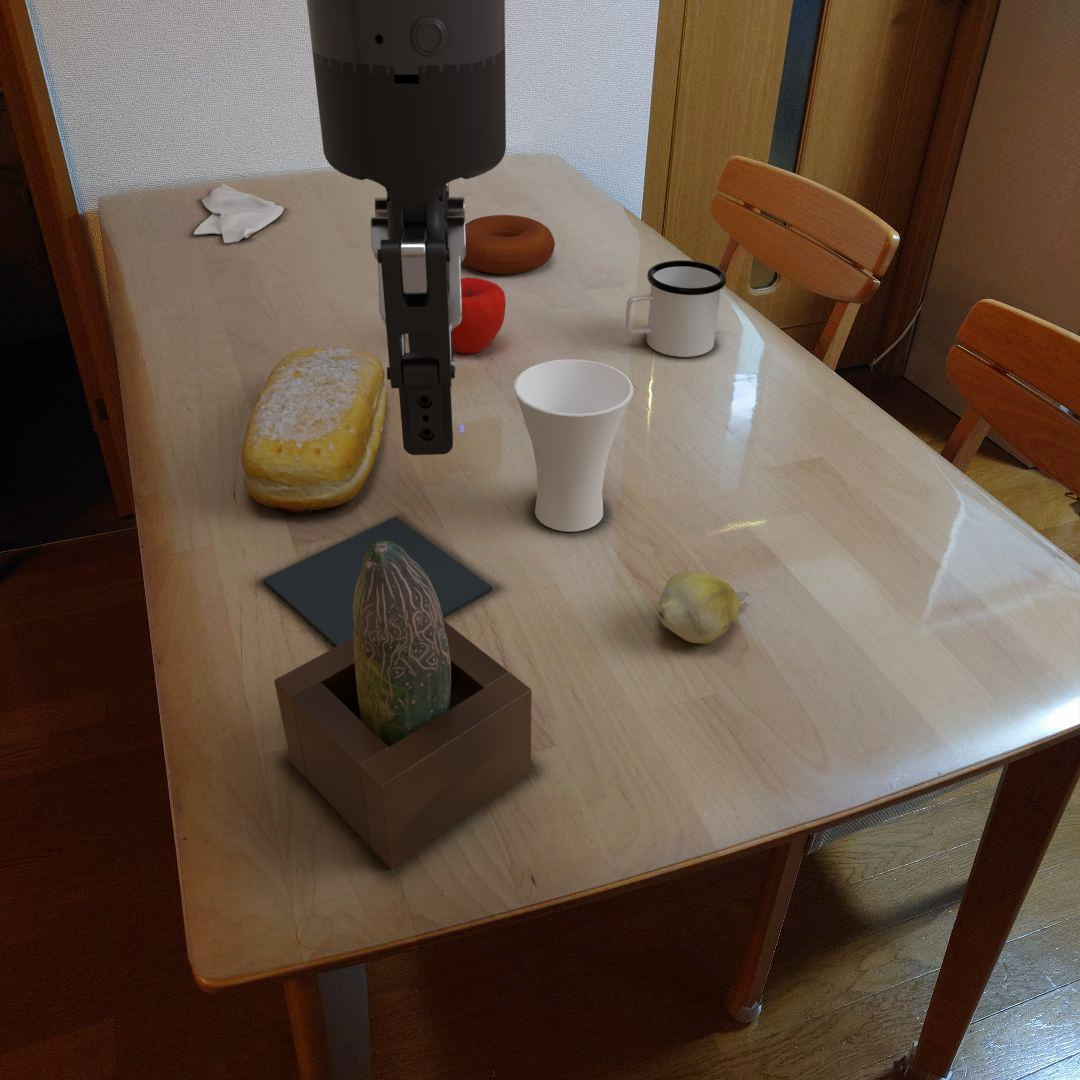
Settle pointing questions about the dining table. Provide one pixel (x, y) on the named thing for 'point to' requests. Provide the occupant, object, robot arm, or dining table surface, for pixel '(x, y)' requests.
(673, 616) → the fruit
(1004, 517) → the dining table surface
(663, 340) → the mug
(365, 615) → the vegetable
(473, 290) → the apple
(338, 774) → the holder
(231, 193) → the cloth
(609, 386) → the cup
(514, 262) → the donut
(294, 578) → the mat
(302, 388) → the bread
